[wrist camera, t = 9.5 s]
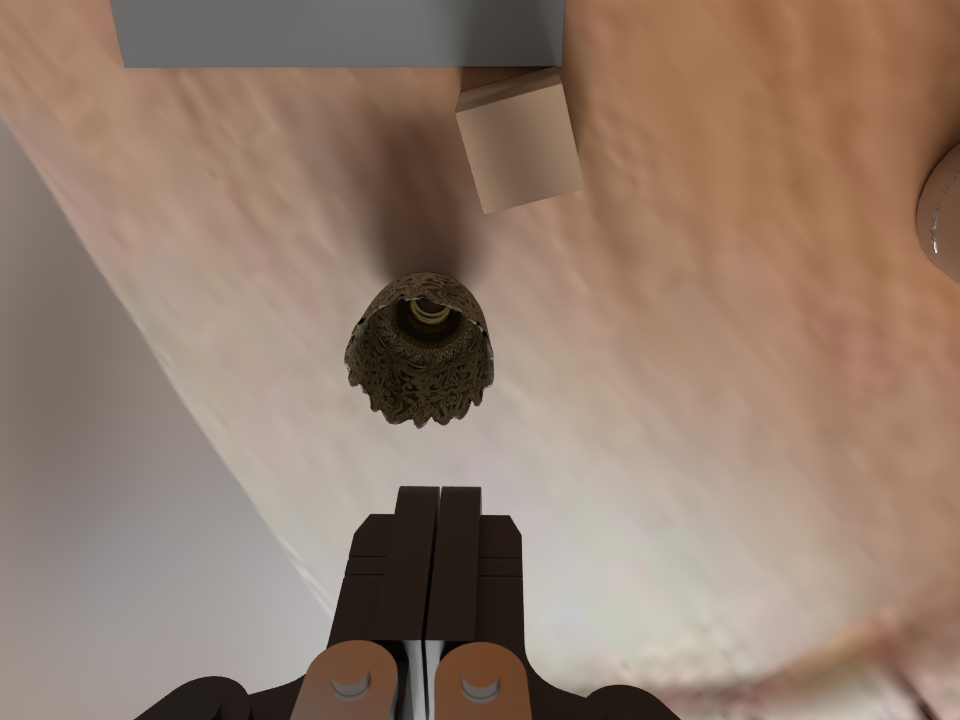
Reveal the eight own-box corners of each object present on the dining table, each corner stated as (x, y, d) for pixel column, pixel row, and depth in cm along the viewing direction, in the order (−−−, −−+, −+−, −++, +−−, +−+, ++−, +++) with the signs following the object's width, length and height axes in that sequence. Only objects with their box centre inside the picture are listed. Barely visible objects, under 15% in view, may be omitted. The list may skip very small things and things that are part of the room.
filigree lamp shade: (343, 274, 46) (315, 339, 39) (455, 216, 44) (446, 274, 37) (410, 373, 49) (394, 450, 42) (516, 323, 47) (519, 395, 40)
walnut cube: (555, 64, 40) (562, 83, 36) (576, 159, 43) (584, 188, 38) (460, 91, 41) (455, 113, 37) (486, 183, 43) (483, 214, 39)
